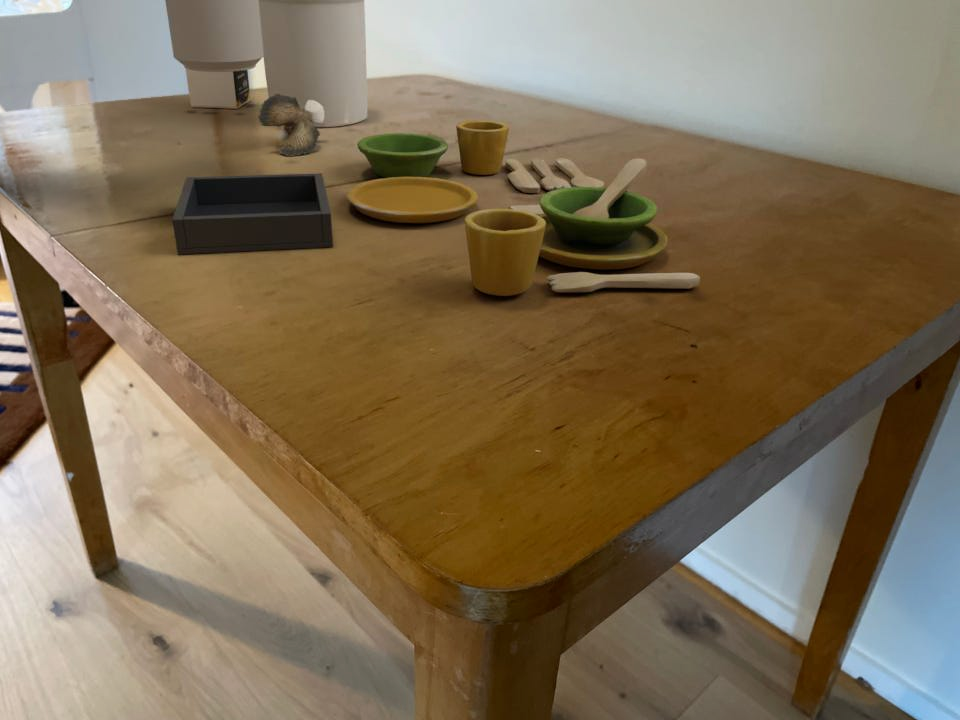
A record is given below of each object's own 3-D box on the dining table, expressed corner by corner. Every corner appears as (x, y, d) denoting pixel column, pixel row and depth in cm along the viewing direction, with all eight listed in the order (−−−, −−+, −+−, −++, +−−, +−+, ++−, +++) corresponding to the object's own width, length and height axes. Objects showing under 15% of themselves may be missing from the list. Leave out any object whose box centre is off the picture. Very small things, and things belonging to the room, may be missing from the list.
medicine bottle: (238, 109, 116) (228, 21, 110) (190, 107, 116) (177, 19, 110) (251, 100, 122) (242, 17, 116) (205, 98, 122) (194, 15, 116)
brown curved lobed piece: (257, 128, 100) (244, 131, 91) (285, 80, 98) (274, 77, 90) (309, 162, 102) (301, 168, 93) (338, 115, 100) (332, 116, 92)
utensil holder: (322, 134, 104) (313, -12, 95) (243, 118, 110) (228, -19, 102) (391, 116, 115) (388, -15, 106) (315, 103, 121) (307, -22, 113)
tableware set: (715, 298, 60) (731, 219, 57) (350, 311, 56) (345, 226, 53) (575, 160, 96) (579, 107, 93) (345, 162, 91) (342, 106, 88)
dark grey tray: (177, 254, 64) (172, 219, 63) (190, 207, 75) (186, 177, 73) (332, 247, 67) (330, 213, 65) (324, 203, 78) (322, 173, 76)
